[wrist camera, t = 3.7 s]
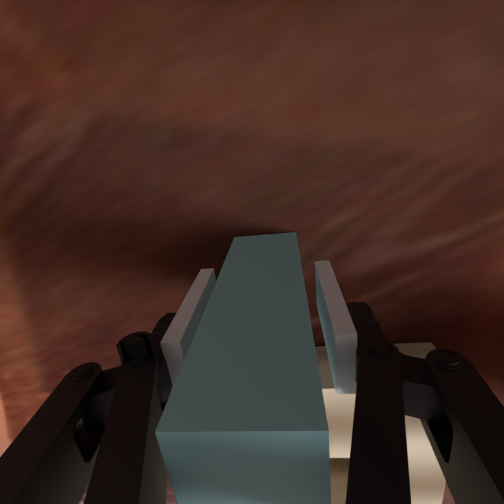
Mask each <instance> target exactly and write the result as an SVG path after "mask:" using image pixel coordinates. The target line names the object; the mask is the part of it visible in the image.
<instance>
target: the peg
mask: <svg viewBox="0 0 504 504" xmlns="http://www.w3.org/2000/svg"><path fill="white" fill-rule="evenodd" d="M155 434H156V437H157V440H158V444H159V447H160V450H161V453H162V456H163V459H164V463H165V466H166V469H167V472H168V475H169V478H170V482H171V485H172V488H173V491H174V494H175V497H176V501H177V504H331V483H330V450H329V428H328V422H327V416H326V410H325V404H324V398H323V392H322V386H321V380H320V374H319V368H318V362H317V356H316V350H315V344H314V338H313V332H312V326H311V320H310V314H309V308H308V302H307V295H306V289H305V283H304V277H303V271H302V265H301V259H300V253H299V247H298V241H297V235H296V232H291V233H278V234H266V235H254V236H241V237H234V239H233V242H232V244H231V246H230V249H229V251H228V254H227V256H226V259H225V261H224V264H223V266H222V269H221V271H220V273H219V276H218V278H217V281H216V283H215V286H214V288H213V291H212V293H211V296H210V298H209V300H208V303H207V305H206V308H205V310H204V313H203V315H202V318H201V320H200V323H199V325H198V327H197V330H196V332H195V335H194V337H193V340H192V342H191V345H190V347H189V350H188V352H187V354H186V357H185V359H184V362H183V364H182V367H181V369H180V372H179V374H178V377H177V379H176V381H175V384H174V386H173V389H172V391H171V394H170V396H169V399H168V401H167V404H166V406H165V408H164V411H163V413H162V416H161V418H160V421H159V423H158V426H157V428H156V431H155Z"/></svg>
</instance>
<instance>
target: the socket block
mask: <svg viewBox="0 0 504 504" xmlns="http://www.w3.org/2000/svg"><path fill="white" fill-rule="evenodd" d="M394 345H395V346H396V347H397V348H398V349H399V352H400V353H403V354H405V355H409V356H414V357H419V358H425V357H426V355H427V353H428V352H430V351H431V350H435V349H436V348H435V346H434V345H433V344H432V342H424V343H397V344H394ZM315 350H316V356H317V362H318V368H319V374H320V380H321V386H322V392H323V398H324V404H325V410H326V416H327V422H328V428H329V450H330V483H331V504H345V503H346V492H347V482H348V471H349V460H350V450H351V439H352V429H353V418H354V408H355V397H356V394H336V391H335V386H334V382H333V377H332V372H331V368H330V363H329V359H328V354H327V349H326V346H319V347H315ZM405 425H406V438H407V452H408V465H409V478H410V492H411V504H442V500H443V494H444V489H445V483H446V480H445V477H444V475H443V473H442V470H441V468H440V466H439V463H438V461H437V459H436V456H435V454H434V452H433V449H432V447H431V444H430V442H429V440H428V437H427V435H426V433H425V430H424V428H423V426H422V423H421V421H420V419H418V418H414V417H410V416H406V415H405Z"/></svg>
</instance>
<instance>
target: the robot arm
mask: <svg viewBox="0 0 504 504" xmlns="http://www.w3.org/2000/svg"><path fill="white" fill-rule="evenodd" d="M315 273H316V297H317V307H318V312H319V317H320V321H321V326H322V331H323V335H324V340H325V345H326V349H327V354H328V359H329V363H330V368H331V372H332V377H333V382H334V386H335V391H336V394H356V397H355V408H354V418H353V429H352V439H351V450H350V460H349V471H348V482H347V492H346V503H345V504H411V492H410V478H409V465H408V452H407V438H406V425H405V415H406V416H410V417H414V418H418V419H420V421H421V423H422V426H423V428H424V430H425V433H426V435H427V437H428V440H429V442H430V444H431V447H432V449H433V452H434V454H435V456H436V459H437V461H438V463H439V466H440V468H441V470H442V473H443V475H444V477H445V480H446V482H447V485H448V487H449V489H450V492H451V494H452V496H453V499H454V501H455V503H456V504H504V407H503V405H502V404H501V403H500V401H499V400H498V399H497V397H496V396H495V395H494V393H493V392H492V390H491V389H490V388H489V386H488V385H487V384H486V382H485V381H484V380H483V378H482V377H481V376H480V374H479V373H478V372H477V370H476V369H475V368H474V366H473V365H472V363H471V362H470V361H469V360H468V359H467V358H466V357H464V356H462V355H461V354H459V353H457V352H454V351H451V350H446V349H435V350H431V351H430V352H428V353H427V355H426V357H425V358H419V357H414V356H409V355H405V354H403V353H400V352H399V349H398V348H397V347H396V346H395V345H394V344H393V343H391V342H389V341H387V339H386V337H385V335H384V333H383V331H382V329H381V327H380V325H379V323H378V322H377V319H376V317H375V316H374V313H373V311H372V309H371V308H370V307H369V306H368V305H366V304H365V303H364V302H350V303H345V301H344V298H343V296H342V293H341V290H340V288H339V285H338V282H337V280H336V277H335V275H334V272H333V269H332V267H331V264H330V261H329V260H325V261H315ZM215 283H216V278H215V272H214V268H211V269H201V270H200V272H199V274H198V275H197V277H196V279H195V281H194V283H193V284H192V286H191V288H190V290H189V292H188V293H187V295H186V297H185V299H184V301H183V302H182V304H181V306H180V308H179V310H178V312H177V313H167V314H166V315H164V316H163V317H162V318H161V319H160V320H159V321H158V323H157V324H156V326H155V328H154V329H153V331H152V333H151V334H150V333H148V332H143V331H142V332H135V333H132V334H129V335H127V336H126V337H124V338H123V339H121V340H120V341H119V342H118V344H117V349H118V352H119V355H120V358H121V361H122V365H121V366H118V367H115V368H111V369H107V370H104V371H102V368H101V366H100V364H98V363H94V362H90V363H85V364H82V365H80V366H77V367H76V368H74V369H73V370H71V371H70V372H69V373H68V374H67V375H66V376H65V377H64V378H63V380H62V381H61V382H60V383H59V385H58V386H57V387H56V388H55V390H54V391H53V392H52V393H51V395H50V396H49V397H48V398H47V400H46V401H45V402H44V403H43V405H42V406H41V407H40V408H39V410H38V411H37V412H36V413H35V415H34V416H33V417H32V418H31V420H30V421H29V422H28V423H27V425H26V426H25V427H24V428H23V430H22V431H21V432H20V433H19V435H18V436H17V437H16V438H15V440H14V441H13V442H12V443H11V445H10V446H9V447H8V448H7V450H6V451H5V452H4V453H3V455H2V456H1V457H0V504H79V502H80V500H81V498H82V496H83V494H84V492H85V490H86V488H87V486H88V484H89V487H88V490H87V494H86V498H85V501H84V504H166V491H167V469H166V466H165V463H164V459H163V456H162V453H161V450H160V447H159V444H158V440H157V437H156V434H155V431H156V428H157V426H158V423H159V421H160V418H161V416H162V413H163V411H164V408H165V406H166V404H167V401H168V399H169V397H168V396H169V393H170V391H171V388H172V389H173V386H174V384H175V381H176V379H177V377H178V374H179V372H180V369H181V367H182V364H183V362H184V359H185V357H186V354H187V352H188V350H189V347H190V345H191V342H192V340H193V337H194V335H195V332H196V330H197V327H198V325H199V323H200V320H201V318H202V315H203V313H204V310H205V308H206V305H207V303H208V300H209V298H210V296H211V293H212V291H213V288H214V286H215ZM78 422H80V423H79V425H78V426H77V424H78ZM76 426H77V428H76ZM75 428H76V429H75ZM89 482H90V483H89Z"/></svg>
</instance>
